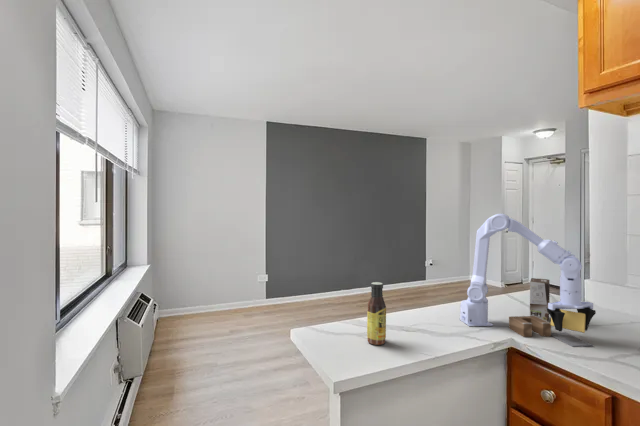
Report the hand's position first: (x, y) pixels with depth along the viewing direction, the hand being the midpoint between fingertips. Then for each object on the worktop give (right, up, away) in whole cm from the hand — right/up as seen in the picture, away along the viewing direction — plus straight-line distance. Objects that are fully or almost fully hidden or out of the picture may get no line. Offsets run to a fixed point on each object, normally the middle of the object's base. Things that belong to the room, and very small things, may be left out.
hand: (570, 329), depth 110 cm
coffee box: (+3, -3, +20) cm, 21 cm away
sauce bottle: (-67, -4, -2) cm, 67 cm away
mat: (-1, -4, 0) cm, 3 cm away
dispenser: (-10, -3, +7) cm, 12 cm away
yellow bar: (-1, 0, 0) cm, 1 cm away
